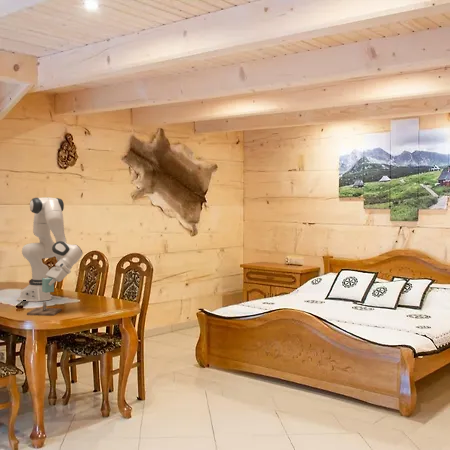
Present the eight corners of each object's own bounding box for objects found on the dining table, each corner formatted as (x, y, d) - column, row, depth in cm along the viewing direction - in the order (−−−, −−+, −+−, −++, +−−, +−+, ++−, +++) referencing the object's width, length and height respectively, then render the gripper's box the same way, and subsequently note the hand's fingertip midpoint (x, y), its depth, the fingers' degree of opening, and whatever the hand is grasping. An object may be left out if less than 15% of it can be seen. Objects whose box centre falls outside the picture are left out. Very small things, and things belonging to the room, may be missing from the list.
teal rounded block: (45, 292, 364) (45, 279, 364) (42, 291, 369) (42, 278, 369) (53, 291, 367) (53, 278, 367) (50, 290, 372) (50, 277, 372)
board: (26, 315, 358) (26, 304, 358) (35, 309, 374) (35, 300, 374) (53, 315, 358) (53, 305, 358) (61, 310, 374) (61, 300, 374)
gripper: (53, 262, 380) (37, 279, 375) (64, 265, 363) (48, 282, 358) (60, 269, 383) (44, 285, 378) (71, 272, 366) (56, 289, 361)
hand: (46, 284), depth 368 cm, fingers closed on teal rounded block, 6 cm apart
